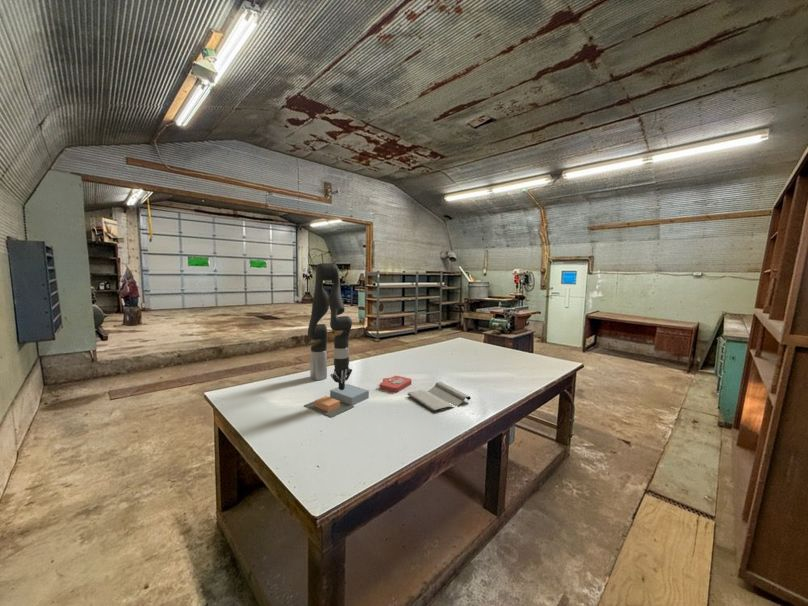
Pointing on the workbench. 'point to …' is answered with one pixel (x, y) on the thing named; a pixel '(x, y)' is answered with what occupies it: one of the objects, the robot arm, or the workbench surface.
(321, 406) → the orange block
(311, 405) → the pad
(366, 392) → the block
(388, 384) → the red flat case
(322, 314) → the robot arm
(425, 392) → the mat
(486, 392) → the workbench surface
